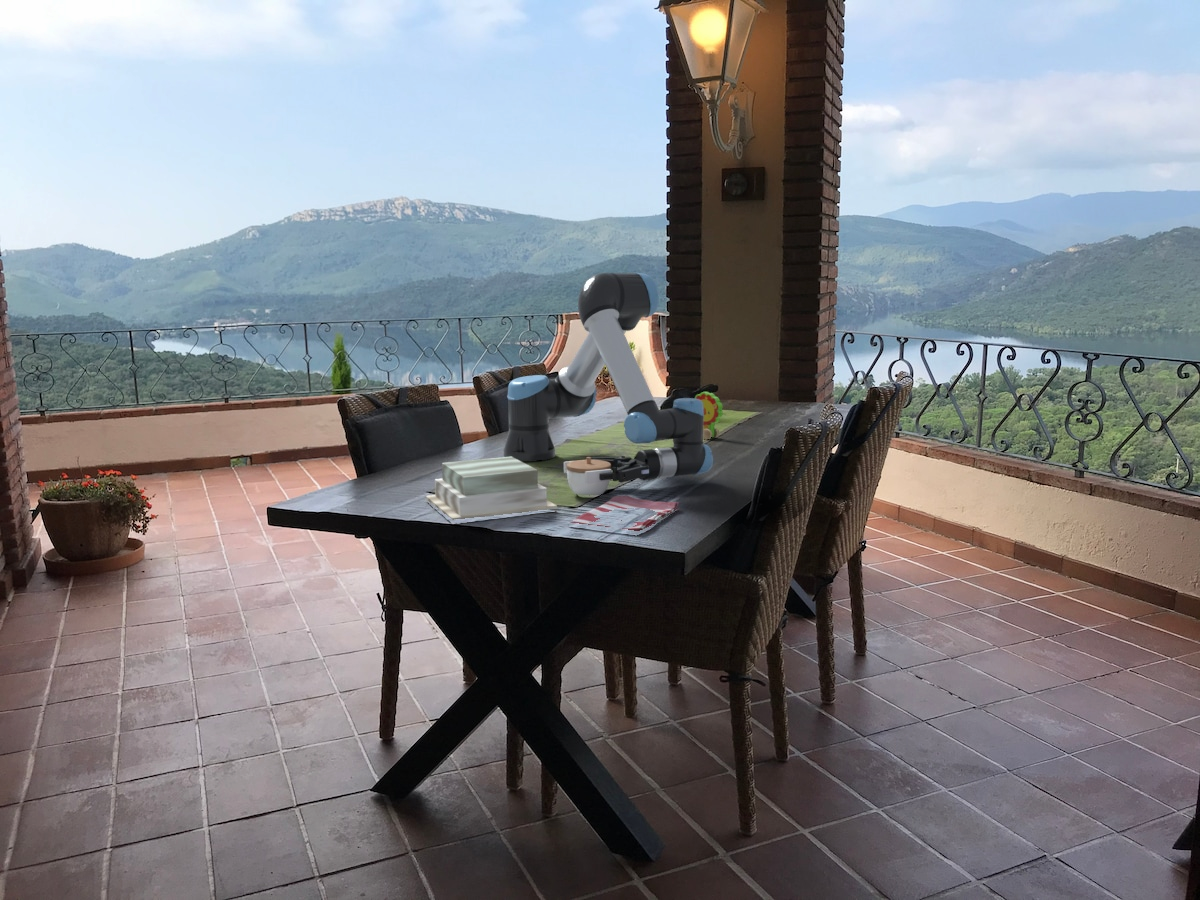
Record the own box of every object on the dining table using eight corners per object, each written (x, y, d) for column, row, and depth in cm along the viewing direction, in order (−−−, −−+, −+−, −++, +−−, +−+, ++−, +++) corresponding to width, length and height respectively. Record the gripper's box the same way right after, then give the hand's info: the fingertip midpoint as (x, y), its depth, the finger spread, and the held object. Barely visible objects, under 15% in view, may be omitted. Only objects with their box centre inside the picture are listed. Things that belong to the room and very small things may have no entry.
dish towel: (680, 512, 199) (680, 500, 198) (640, 539, 178) (640, 526, 177) (612, 504, 206) (612, 493, 205) (566, 529, 185) (566, 517, 185)
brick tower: (426, 501, 206) (424, 462, 204) (522, 491, 216) (521, 453, 215) (452, 525, 187) (451, 481, 185) (556, 512, 197) (556, 470, 195)
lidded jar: (578, 502, 205) (578, 463, 203) (559, 493, 214) (559, 455, 213) (619, 497, 210) (619, 459, 208) (598, 488, 219) (598, 451, 217)
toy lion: (676, 435, 292) (676, 390, 289) (686, 433, 296) (687, 388, 293) (715, 441, 282) (716, 394, 279) (725, 439, 285) (726, 392, 283)
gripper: (678, 488, 209) (596, 498, 200) (631, 469, 230) (555, 477, 221) (679, 457, 207) (596, 466, 198) (631, 441, 229) (554, 448, 219)
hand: (574, 472), depth 209 cm, fingers open, 12 cm apart
